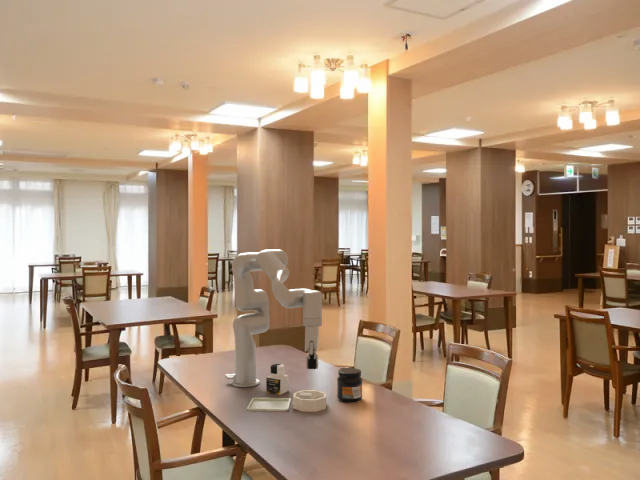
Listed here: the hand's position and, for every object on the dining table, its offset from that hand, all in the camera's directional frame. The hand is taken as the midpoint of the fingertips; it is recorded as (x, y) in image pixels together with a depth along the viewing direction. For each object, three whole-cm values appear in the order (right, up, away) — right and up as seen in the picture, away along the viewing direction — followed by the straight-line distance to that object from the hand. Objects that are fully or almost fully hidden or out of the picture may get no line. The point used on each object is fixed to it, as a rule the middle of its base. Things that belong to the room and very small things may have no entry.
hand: (312, 367), depth 218 cm
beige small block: (0, 0, 0) cm, 0 cm away
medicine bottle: (-15, -15, +18) cm, 29 cm away
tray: (-17, -15, 0) cm, 23 cm away
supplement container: (+15, -16, +9) cm, 24 cm away
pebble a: (-3, -15, -2) cm, 15 cm away
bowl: (-1, -16, -1) cm, 16 cm away
